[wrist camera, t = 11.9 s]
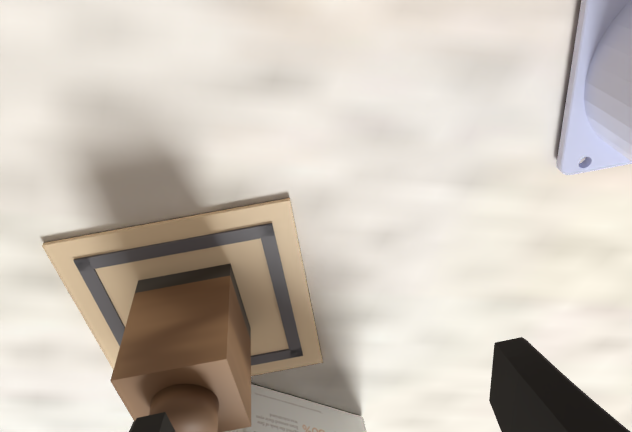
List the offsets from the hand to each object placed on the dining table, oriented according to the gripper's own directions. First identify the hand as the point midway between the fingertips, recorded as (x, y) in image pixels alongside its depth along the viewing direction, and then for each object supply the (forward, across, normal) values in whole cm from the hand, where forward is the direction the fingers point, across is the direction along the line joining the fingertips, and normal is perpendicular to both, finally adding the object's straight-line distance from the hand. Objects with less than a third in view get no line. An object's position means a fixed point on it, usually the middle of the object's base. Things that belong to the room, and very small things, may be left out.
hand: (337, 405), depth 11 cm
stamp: (+10, +5, +6) cm, 13 cm away
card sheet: (+11, +5, +6) cm, 13 cm away
